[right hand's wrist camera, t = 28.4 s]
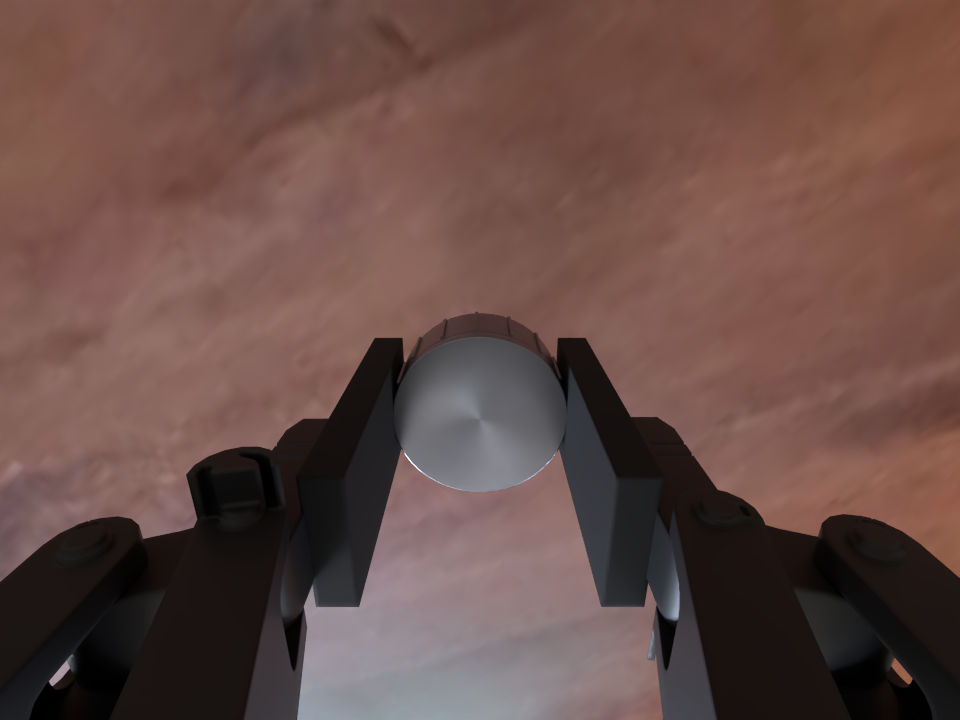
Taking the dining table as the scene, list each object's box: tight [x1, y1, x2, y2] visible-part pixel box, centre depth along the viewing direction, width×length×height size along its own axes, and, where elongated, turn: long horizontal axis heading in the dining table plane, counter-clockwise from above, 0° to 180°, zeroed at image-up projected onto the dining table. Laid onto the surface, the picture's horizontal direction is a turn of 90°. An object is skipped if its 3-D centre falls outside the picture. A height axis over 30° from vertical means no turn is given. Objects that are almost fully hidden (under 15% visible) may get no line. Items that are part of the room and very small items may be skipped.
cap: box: [393, 312, 567, 492], centre depth 14 cm, size 4×4×2 cm
